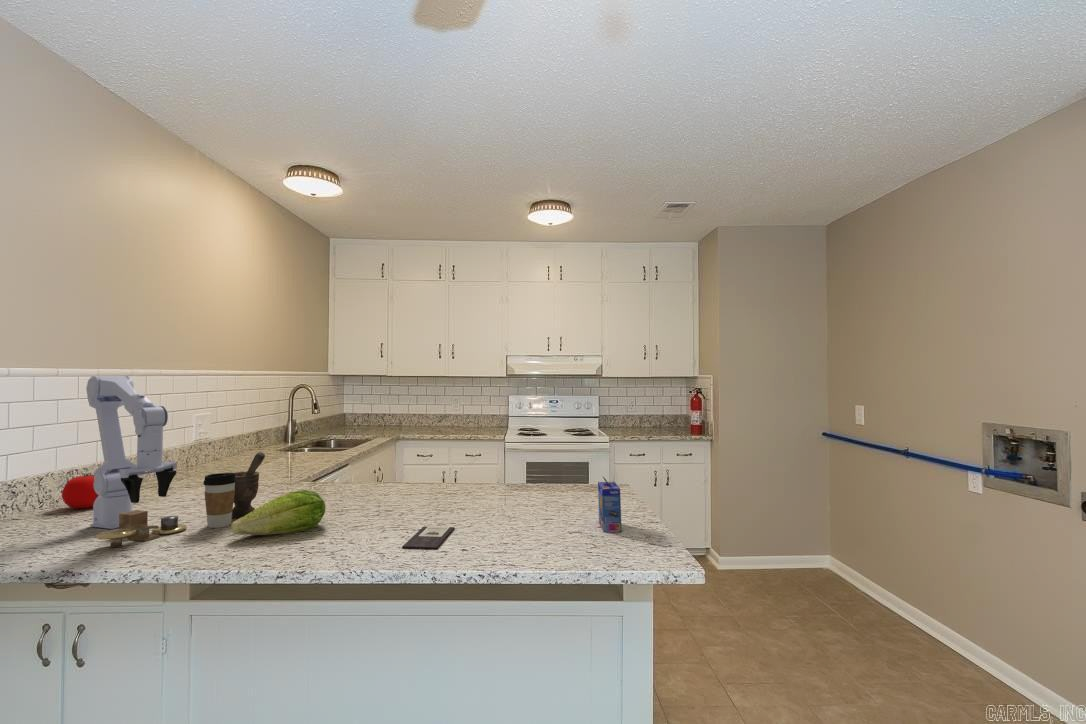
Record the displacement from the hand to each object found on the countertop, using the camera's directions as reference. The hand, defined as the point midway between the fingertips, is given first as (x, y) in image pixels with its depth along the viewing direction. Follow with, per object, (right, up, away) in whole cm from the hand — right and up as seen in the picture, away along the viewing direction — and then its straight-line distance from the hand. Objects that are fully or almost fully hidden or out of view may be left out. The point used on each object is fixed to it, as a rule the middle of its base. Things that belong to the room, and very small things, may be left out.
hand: (148, 499), depth 149 cm
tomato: (-42, -10, +30) cm, 53 cm away
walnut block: (-4, -10, 0) cm, 10 cm away
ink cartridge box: (+128, -10, +6) cm, 129 cm away
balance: (+2, -9, -5) cm, 11 cm away
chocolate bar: (+79, -10, -4) cm, 80 cm away
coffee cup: (+15, -10, +8) cm, 19 cm away
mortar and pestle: (+17, -10, +19) cm, 27 cm away
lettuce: (+36, -10, +1) cm, 37 cm away
